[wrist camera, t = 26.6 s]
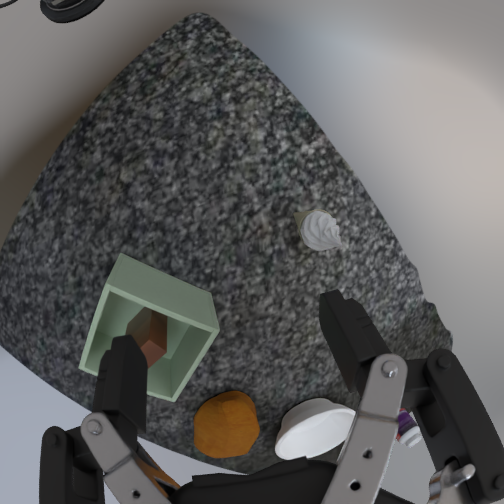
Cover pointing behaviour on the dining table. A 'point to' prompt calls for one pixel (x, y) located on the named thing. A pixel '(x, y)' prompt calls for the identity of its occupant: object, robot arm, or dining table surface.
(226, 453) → the bread
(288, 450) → the bowl
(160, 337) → the chocolate bar
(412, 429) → the pill bottle
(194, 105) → the dining table surface
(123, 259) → the trash bin
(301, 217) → the ice cream cone
